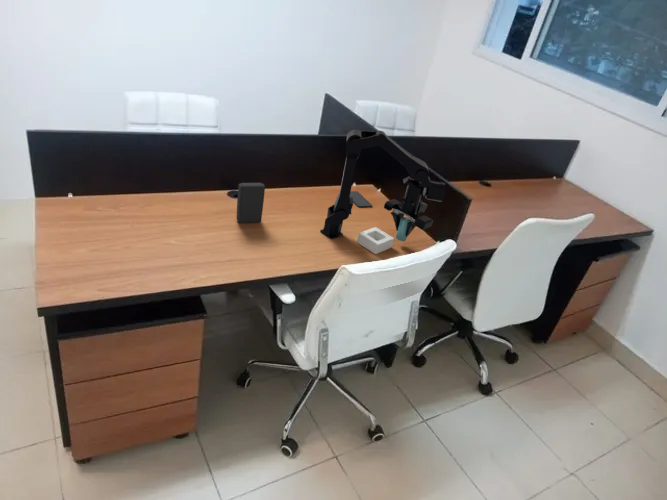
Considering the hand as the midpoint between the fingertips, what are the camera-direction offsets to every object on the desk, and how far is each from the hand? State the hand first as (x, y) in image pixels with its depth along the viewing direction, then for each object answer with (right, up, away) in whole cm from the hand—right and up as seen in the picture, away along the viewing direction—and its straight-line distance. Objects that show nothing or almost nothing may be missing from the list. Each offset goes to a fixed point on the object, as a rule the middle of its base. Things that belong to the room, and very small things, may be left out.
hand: (402, 233), depth 179 cm
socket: (-11, -4, -1) cm, 11 cm away
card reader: (-57, +5, -1) cm, 57 cm away
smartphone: (-15, +16, +31) cm, 38 cm away
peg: (0, -2, +1) cm, 2 cm away
